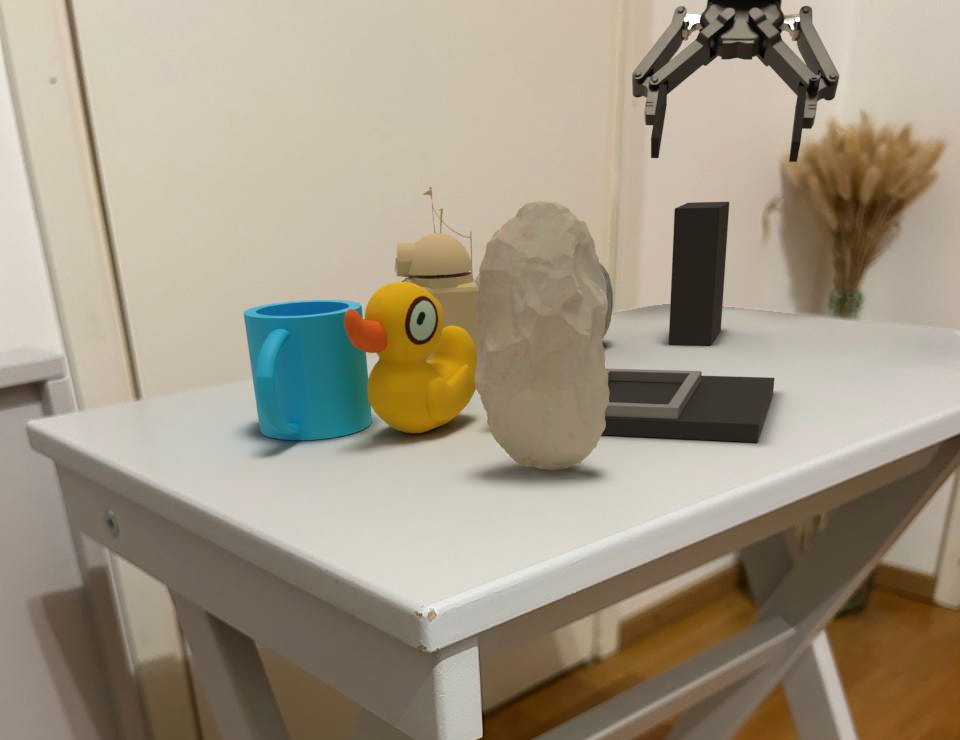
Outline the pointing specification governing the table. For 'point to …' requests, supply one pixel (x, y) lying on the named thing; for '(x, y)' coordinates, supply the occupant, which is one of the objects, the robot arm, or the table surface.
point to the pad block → (698, 272)
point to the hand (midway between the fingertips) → (723, 150)
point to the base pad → (686, 405)
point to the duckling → (413, 358)
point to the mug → (307, 370)
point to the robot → (443, 276)
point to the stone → (543, 338)
